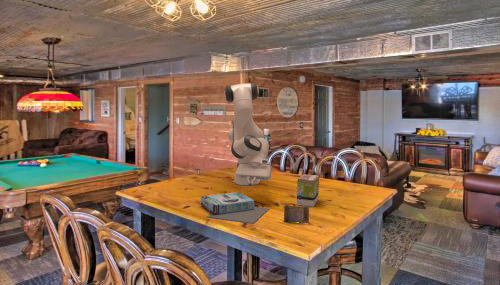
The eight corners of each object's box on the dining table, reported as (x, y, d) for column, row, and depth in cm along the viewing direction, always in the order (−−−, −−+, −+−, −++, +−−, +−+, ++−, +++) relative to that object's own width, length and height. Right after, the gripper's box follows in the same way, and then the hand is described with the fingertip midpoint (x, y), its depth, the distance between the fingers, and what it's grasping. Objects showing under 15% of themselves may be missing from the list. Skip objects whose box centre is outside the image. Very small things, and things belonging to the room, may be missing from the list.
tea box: (314, 207, 177) (315, 180, 175) (296, 205, 180) (296, 178, 179) (318, 199, 191) (319, 174, 189) (301, 198, 194) (302, 173, 193)
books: (283, 223, 153) (284, 202, 152) (284, 221, 156) (284, 201, 155) (308, 225, 150) (309, 204, 149) (308, 223, 153) (309, 202, 152)
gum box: (239, 199, 188) (200, 204, 178) (239, 190, 188) (200, 195, 178) (254, 209, 171) (212, 215, 161) (254, 199, 170) (212, 205, 160)
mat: (228, 203, 181) (228, 203, 181) (269, 209, 173) (269, 208, 173) (206, 217, 159) (206, 216, 159) (253, 223, 150) (253, 223, 150)
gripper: (238, 159, 188) (231, 179, 180) (272, 161, 180) (266, 183, 173) (241, 165, 193) (234, 185, 185) (274, 168, 185) (269, 189, 177)
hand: (250, 184), depth 179 cm, fingers closed
